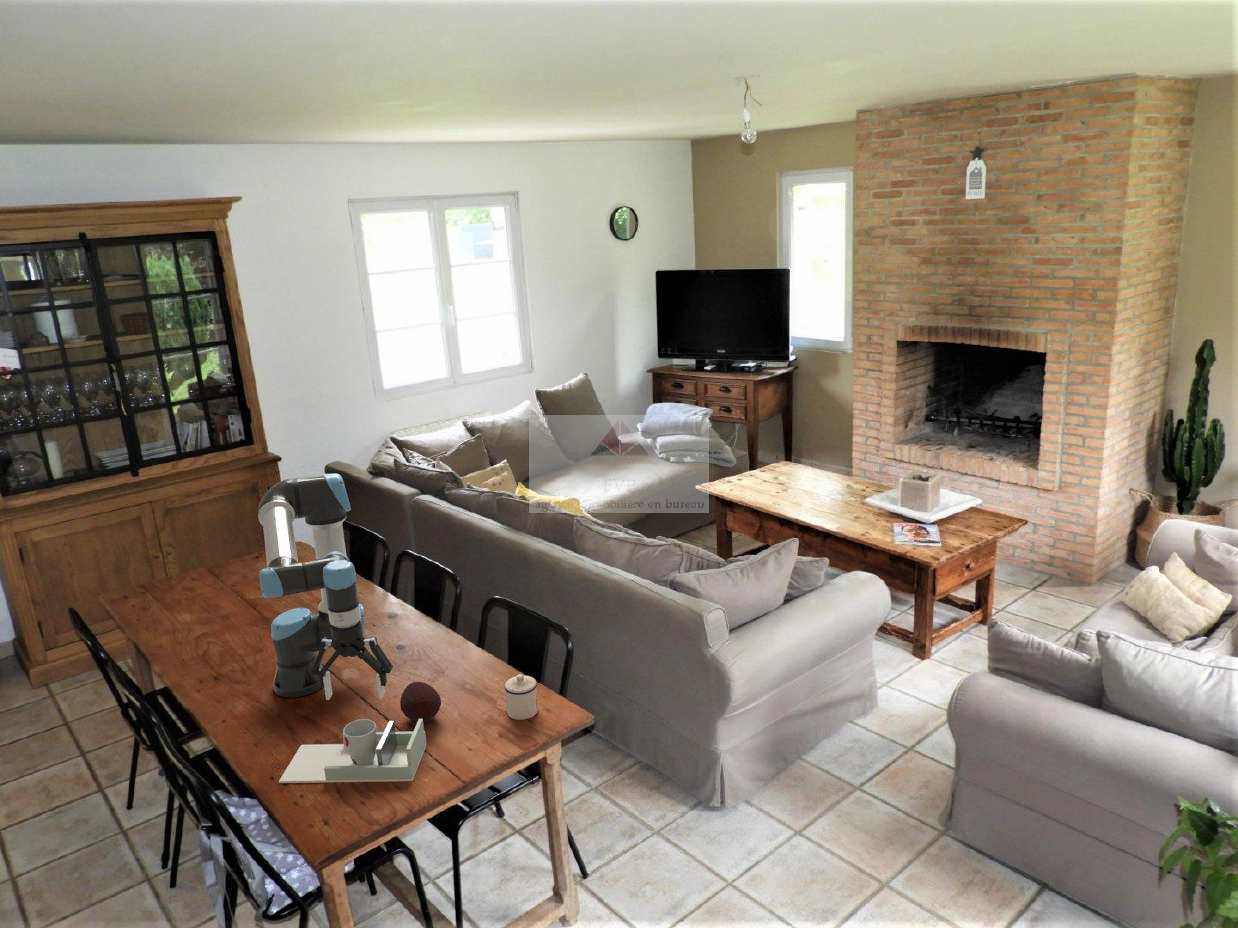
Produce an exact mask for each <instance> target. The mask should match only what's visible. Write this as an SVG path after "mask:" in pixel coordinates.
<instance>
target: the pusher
mask: <svg viewBox="0 0 1238 928" xmlns="http://www.w3.org/2000/svg"><path fill="white" fill-rule="evenodd" d="M383 732H384V734H383V736H382V738H381V740H380V742H379V744H378V746H377V748H376V753H377V760H378V765H389V762H390V760H391V758H392V756H393V753H394V751H395V749H396V747H397V741H396V733H395V732H396V727H395V721H394V720H389V722H387V725H386V727H385V729H384V731H383Z"/></svg>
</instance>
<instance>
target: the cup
mask: <svg viewBox="0 0 1238 928" xmlns="http://www.w3.org/2000/svg"><path fill="white" fill-rule="evenodd" d="M376 732H377V724H376V722H375V721H374V720H371V719H368V718H361V719H356V720H354V721H351V722H349V723H347V724H346V725H345V726H344V727H343V730H342V734H343V733H344V738H345V743H346V747H347V750H348V753H349V755H350V758H351V760H352V761H353V763H354V765H355V766H358V765H370V764H372V763H373V761H374V757H375V753H376V740H377V738H376Z"/></svg>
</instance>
